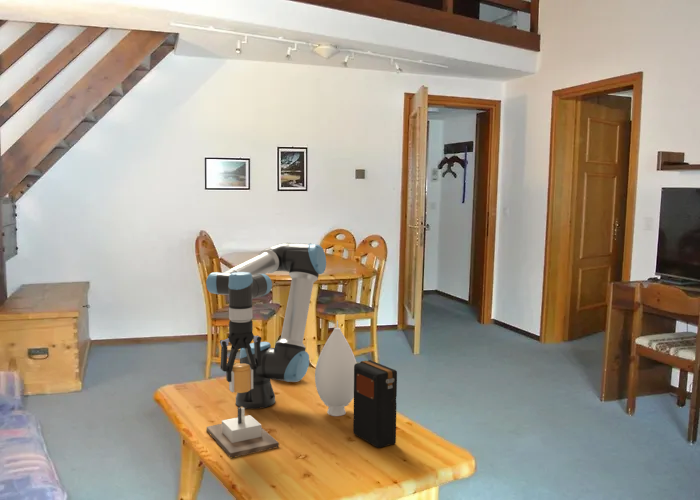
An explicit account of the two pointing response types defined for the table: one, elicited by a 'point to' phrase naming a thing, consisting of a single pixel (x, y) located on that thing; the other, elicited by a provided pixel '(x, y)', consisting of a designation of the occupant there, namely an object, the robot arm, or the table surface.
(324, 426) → the table surface
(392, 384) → the black upright block
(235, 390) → the orange acorn nut
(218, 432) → the mounting board
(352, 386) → the lamp
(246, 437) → the box
